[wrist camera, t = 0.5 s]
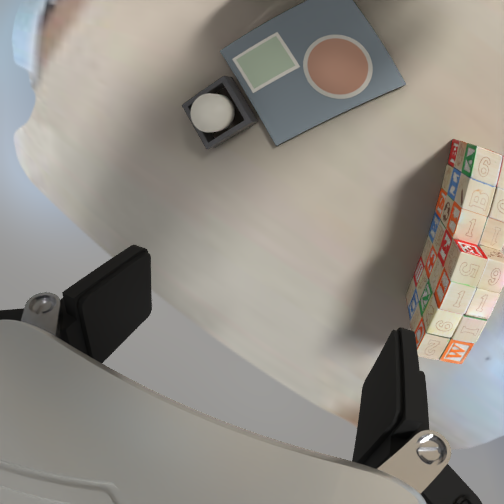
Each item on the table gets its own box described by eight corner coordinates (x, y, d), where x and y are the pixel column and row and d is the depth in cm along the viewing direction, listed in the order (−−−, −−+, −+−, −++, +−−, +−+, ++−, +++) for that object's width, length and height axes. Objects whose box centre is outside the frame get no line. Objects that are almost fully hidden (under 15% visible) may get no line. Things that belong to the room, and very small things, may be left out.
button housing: (231, 77, 35) (224, 75, 33) (257, 121, 36) (251, 122, 34) (191, 105, 38) (181, 105, 36) (215, 147, 39) (206, 149, 37)
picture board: (341, -13, 26) (340, -16, 25) (405, 84, 29) (406, 84, 28) (222, 52, 34) (219, 50, 33) (277, 145, 37) (275, 146, 36)
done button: (223, 87, 34) (214, 85, 32) (242, 118, 35) (234, 119, 33) (193, 107, 36) (184, 107, 34) (211, 138, 37) (202, 139, 35)
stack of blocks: (450, 137, 30) (489, 147, 19) (494, 153, 28) (543, 171, 18) (405, 296, 39) (413, 357, 29) (444, 306, 38) (461, 366, 27)
